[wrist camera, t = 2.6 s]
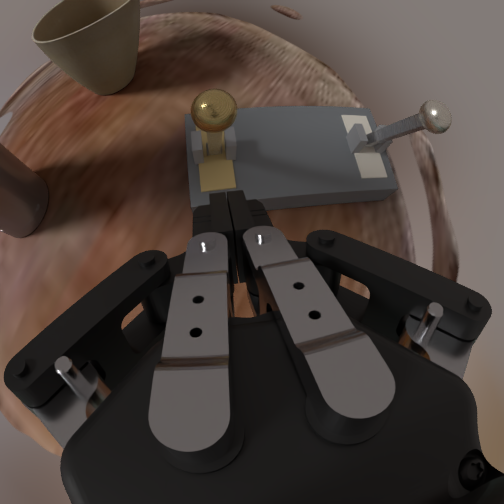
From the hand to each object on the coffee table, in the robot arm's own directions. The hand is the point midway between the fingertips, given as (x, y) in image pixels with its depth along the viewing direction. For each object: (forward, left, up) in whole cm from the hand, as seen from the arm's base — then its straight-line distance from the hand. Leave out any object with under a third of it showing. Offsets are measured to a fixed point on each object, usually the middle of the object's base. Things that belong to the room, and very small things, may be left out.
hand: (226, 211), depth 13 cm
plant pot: (-33, +12, -20) cm, 41 cm away
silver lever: (+4, +21, -15) cm, 26 cm away
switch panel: (-2, +15, -20) cm, 25 cm away
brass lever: (-9, +9, -15) cm, 19 cm away
